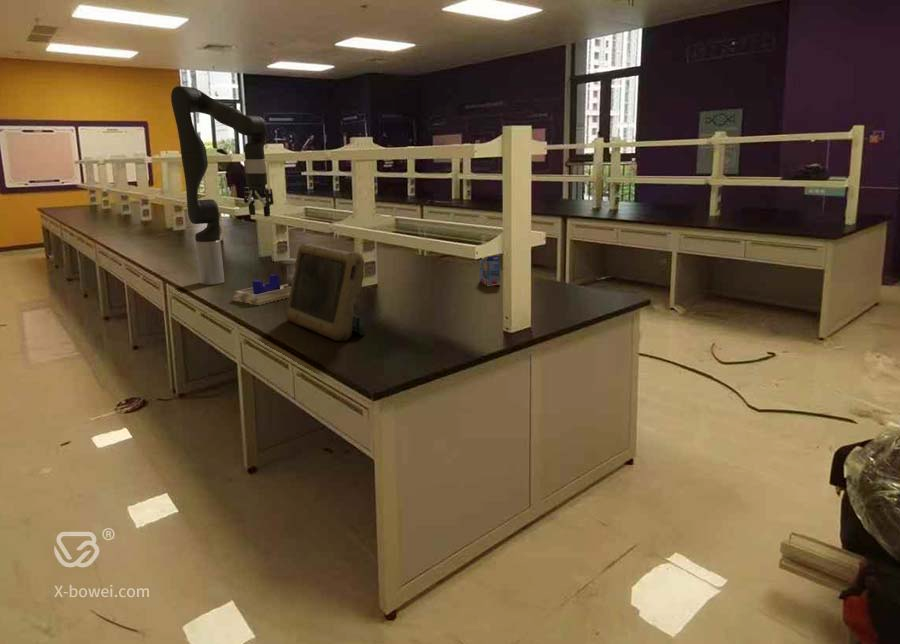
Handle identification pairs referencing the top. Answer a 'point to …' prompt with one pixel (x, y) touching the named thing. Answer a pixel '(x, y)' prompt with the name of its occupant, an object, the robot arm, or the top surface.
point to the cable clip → (266, 285)
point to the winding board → (271, 296)
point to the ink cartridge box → (490, 270)
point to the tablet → (326, 291)
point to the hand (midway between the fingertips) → (259, 215)
